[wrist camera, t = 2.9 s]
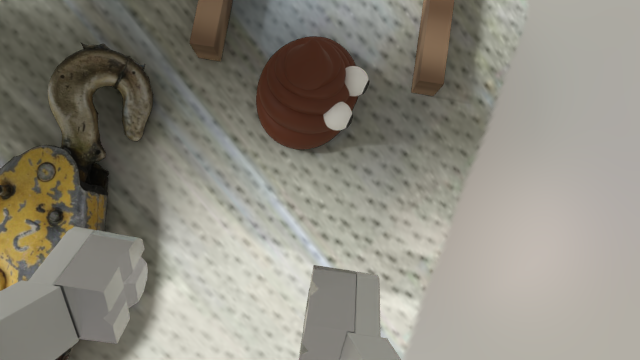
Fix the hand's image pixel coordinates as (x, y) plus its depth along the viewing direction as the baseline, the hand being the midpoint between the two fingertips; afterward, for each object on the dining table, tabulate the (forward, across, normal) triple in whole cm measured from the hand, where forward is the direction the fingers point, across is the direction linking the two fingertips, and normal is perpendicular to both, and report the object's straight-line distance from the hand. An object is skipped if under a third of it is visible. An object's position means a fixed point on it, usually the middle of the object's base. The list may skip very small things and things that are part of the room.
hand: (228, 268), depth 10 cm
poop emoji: (+29, 0, +10) cm, 31 cm away
